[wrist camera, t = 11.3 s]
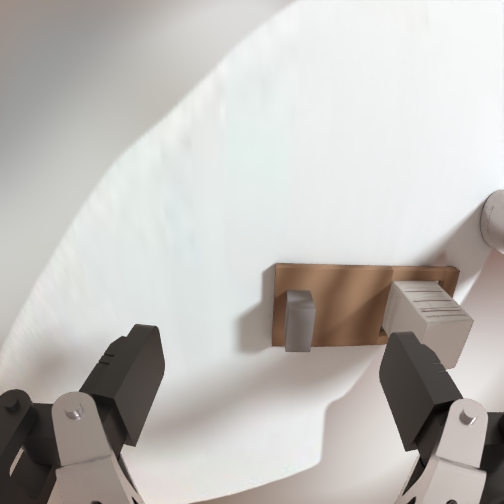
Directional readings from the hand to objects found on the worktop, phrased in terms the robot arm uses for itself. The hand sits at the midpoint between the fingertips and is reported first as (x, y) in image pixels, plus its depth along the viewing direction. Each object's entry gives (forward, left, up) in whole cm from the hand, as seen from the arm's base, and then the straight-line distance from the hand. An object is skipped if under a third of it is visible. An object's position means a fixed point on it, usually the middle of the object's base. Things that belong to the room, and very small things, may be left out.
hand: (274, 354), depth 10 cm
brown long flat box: (-14, +14, -28) cm, 34 cm away
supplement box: (-20, +13, -28) cm, 37 cm away
